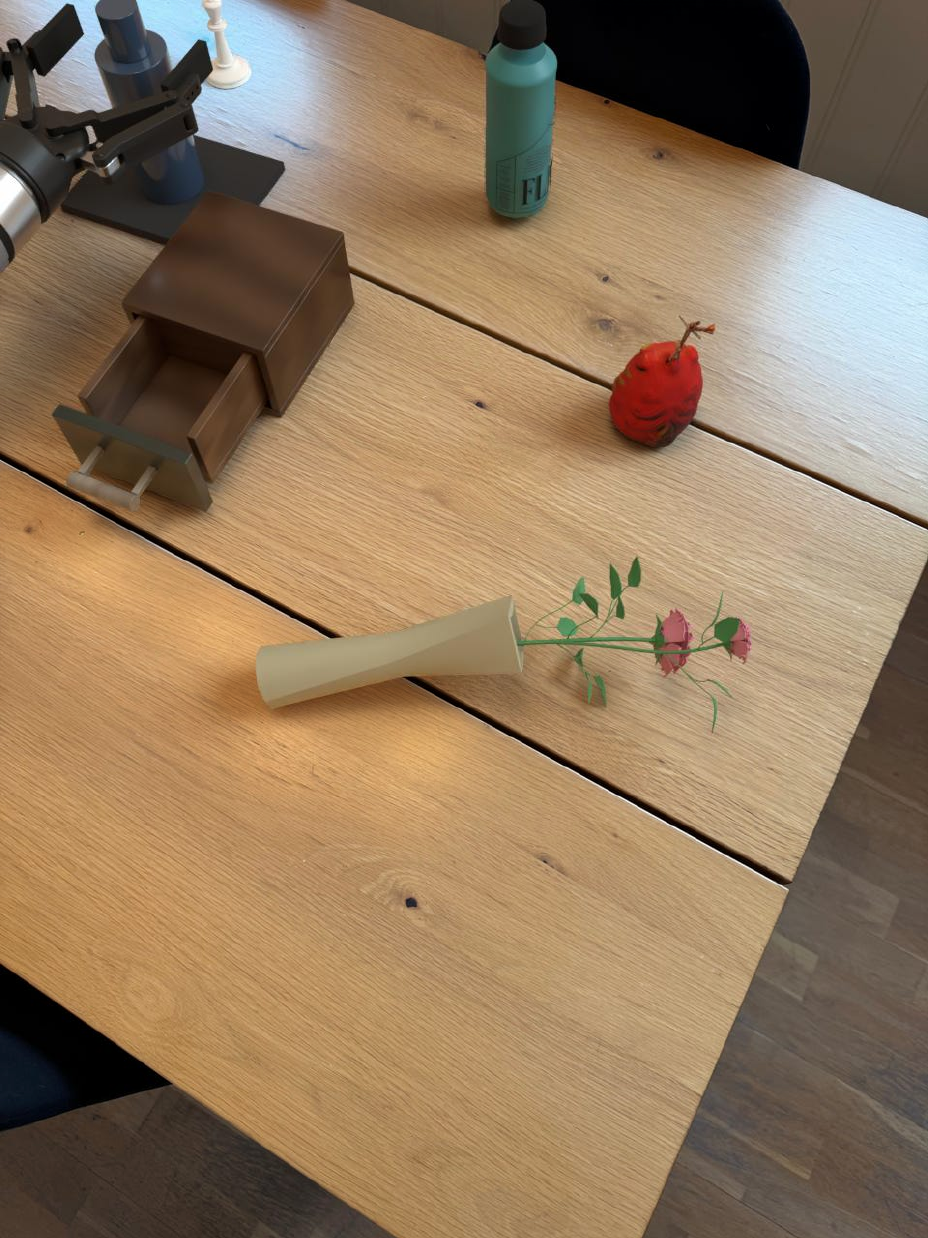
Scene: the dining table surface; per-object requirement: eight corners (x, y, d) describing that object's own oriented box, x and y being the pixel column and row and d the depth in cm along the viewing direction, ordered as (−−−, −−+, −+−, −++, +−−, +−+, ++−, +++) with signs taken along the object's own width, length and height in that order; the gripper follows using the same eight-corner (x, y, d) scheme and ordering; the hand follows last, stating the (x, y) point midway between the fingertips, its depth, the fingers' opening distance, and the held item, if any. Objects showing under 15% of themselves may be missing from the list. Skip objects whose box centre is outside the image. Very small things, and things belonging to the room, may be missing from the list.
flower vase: (317, 686, 86) (735, 614, 80) (301, 808, 78) (768, 738, 72) (263, 590, 78) (724, 501, 72) (239, 714, 70) (760, 626, 63)
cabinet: (281, 417, 90) (262, 351, 82) (150, 371, 93) (120, 302, 85) (354, 303, 96) (343, 231, 88) (229, 263, 99) (208, 189, 91)
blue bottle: (129, 194, 102) (63, 18, 86) (162, 154, 104) (104, -24, 88) (184, 212, 101) (127, 36, 85) (216, 170, 103) (167, -7, 87)
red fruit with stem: (675, 381, 91) (709, 252, 78) (706, 442, 88) (747, 318, 75) (596, 402, 90) (615, 275, 77) (624, 464, 87) (649, 343, 74)
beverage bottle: (519, 241, 99) (528, 45, 82) (469, 209, 101) (466, 12, 84) (562, 206, 101) (579, 8, 84) (512, 175, 104) (519, -24, 86)
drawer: (180, 552, 83) (156, 506, 77) (53, 502, 85) (20, 453, 79) (283, 394, 90) (268, 340, 84) (163, 352, 93) (141, 297, 86)
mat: (62, 210, 102) (58, 202, 101) (136, 124, 108) (133, 116, 107) (217, 261, 99) (215, 253, 98) (285, 169, 105) (284, 161, 104)
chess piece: (233, 53, 113) (212, -39, 104) (260, 74, 111) (241, -18, 103) (197, 73, 112) (172, -19, 103) (224, 95, 110) (201, 3, 101)
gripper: (-99, 187, 88) (39, 43, 97) (148, 268, 83) (270, 108, 92) (-147, 110, 81) (6, -38, 90) (119, 193, 77) (254, 28, 85)
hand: (140, 35), depth 91 cm, fingers open, 13 cm apart
